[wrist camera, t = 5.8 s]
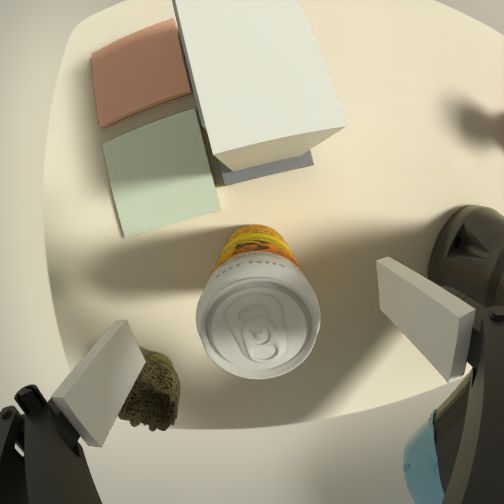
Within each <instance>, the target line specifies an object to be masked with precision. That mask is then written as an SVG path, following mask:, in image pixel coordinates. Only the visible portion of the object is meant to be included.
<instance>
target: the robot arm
mask: <svg viewBox="0 0 504 504" xmlns="http://www.w3.org/2000/svg"><path fill="white" fill-rule="evenodd" d="M376 269H377V279H378V290H379V302H380V310H381V311H382V312H383V313H384V314H385V315H386V316H387V317H388V318H389V319H390V320H391V321H392V322H393V323H394V324H395V325H396V326H397V327H398V328H399V329H400V330H401V331H402V333H403V334H404V335H405V336H406V337H407V338H408V339H409V340H410V341H411V342H412V343H413V344H414V345H415V346H416V348H417V349H418V350H419V351H420V352H421V353H422V354H423V355H424V356H425V357H426V358H427V360H428V361H429V362H430V363H431V364H432V365H433V366H434V367H435V369H436V370H437V371H438V372H439V373H440V374H441V375H442V376H443V378H444V379H445V380H446V381H447V382H448V383H450V382H452V381H453V380H455V379H457V378H459V377H460V376H462V375H464V372H465V368H466V364H467V362H468V363H469V364H470V365H471V366H472V367H473V368H472V369H471V371H470V372H469V373H468V374H467V376H466V377H465V378H464V379H463V381H462V382H461V383H460V384H459V385H458V387H457V388H456V389H455V390H454V391H453V392H452V394H451V395H450V396H449V397H448V398H447V399H446V400H445V401H444V402H443V404H442V405H441V406H440V407H439V408H438V409H435V410H434V411H433V412H432V413H431V415H430V417H429V418H428V419H427V421H425V423H424V424H423V425H422V426H421V427H420V428H419V429H418V430H417V431H416V432H415V433H414V434H413V435H412V436H411V437H410V439H409V440H408V442H407V444H406V446H405V449H404V454H403V469H404V473H405V480H406V483H407V487H408V490H409V492H410V494H411V497H412V499H413V500H414V502H415V504H504V216H503V215H501V214H500V213H499V212H497V211H496V210H494V209H492V208H489V207H483V206H477V205H471V206H467V207H464V208H462V209H461V210H459V211H458V212H456V213H455V214H454V215H453V216H452V217H451V218H450V219H449V220H448V222H447V223H446V224H445V226H444V227H443V229H442V231H441V233H440V234H439V237H438V239H437V241H436V243H435V246H434V249H433V252H432V256H431V260H430V266H429V274H428V279H427V278H425V277H423V276H422V275H420V274H418V273H417V272H415V271H413V270H411V269H410V268H408V267H406V266H404V265H403V264H401V263H399V262H397V261H396V260H394V259H392V258H390V257H389V256H388V257H385V258H382V259H378V260H376ZM145 362H146V361H145V359H144V357H143V355H142V353H141V351H140V348H139V346H138V344H137V342H136V340H135V338H134V336H133V333H132V331H131V329H130V327H129V324H128V322H127V320H121V321H115V322H114V323H113V325H112V326H111V327H110V328H109V329H108V330H107V331H106V332H105V333H104V335H103V336H102V337H101V338H100V339H99V340H98V341H97V342H96V344H95V345H94V346H93V347H92V348H91V349H90V350H89V352H88V353H87V354H86V355H85V356H84V357H83V359H82V360H81V361H80V362H79V363H78V364H77V366H76V367H75V368H74V369H73V370H72V372H71V373H70V374H69V375H68V376H67V378H66V379H65V380H64V381H63V382H62V384H61V385H60V386H59V387H58V389H57V390H56V391H55V392H54V394H53V395H52V396H51V399H50V400H49V401H48V402H47V401H46V400H45V398H44V397H43V395H42V394H41V392H40V391H39V389H38V388H37V386H36V385H28V386H25V387H23V388H22V389H21V390H19V391H18V392H17V393H16V395H15V397H14V399H15V400H16V402H17V403H18V405H19V406H20V407H21V409H22V410H23V411H24V413H25V414H22V415H21V414H20V413H19V411H18V410H17V409H16V407H14V406H9V407H5V408H3V409H2V411H1V412H0V504H102V502H101V500H100V497H99V495H98V492H97V490H96V487H95V484H94V482H93V479H92V476H91V474H90V471H89V468H88V465H87V462H86V458H85V455H84V452H83V448H82V446H81V445H80V444H79V442H78V439H79V438H80V436H81V438H82V439H83V440H84V441H85V442H86V443H87V445H88V446H94V447H102V446H103V444H104V441H105V439H106V437H107V435H108V433H109V431H110V429H111V427H112V425H113V423H114V421H115V419H116V417H117V415H118V414H119V412H120V410H121V408H122V406H123V404H124V402H125V400H126V398H127V396H128V394H129V392H130V390H131V388H132V387H133V385H134V383H135V381H136V379H137V377H138V375H139V373H140V372H141V370H142V368H143V366H144V364H145ZM15 443H16V444H17V446H18V447H19V448H20V449H21V450H22V451H23V452H24V456H21V455H20V454H19V453H18V452H17V450H16V449H15Z"/></svg>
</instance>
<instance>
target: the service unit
mask: <svg viewBox="0 0 504 504" xmlns="http://www.w3.org/2000/svg"><path fill="white" fill-rule="evenodd" d="M172 2H173V7H174V11H175V16H176V20H177V24H178V29H179V33H180V38H181V42H182V46H183V50H184V55H185V59H186V63H187V67H188V72H189V76H190V80H191V84H192V88H193V92H194V96H195V100H196V104H197V108H198V113H199V117H200V121H201V125H202V126H203V127H204V128H205V130H206V131H207V133H208V137H209V141H210V145H211V149H212V153H213V155H214V156H215V157H216V158H218V161H219V165H220V168H221V172H222V176H223V180H224V184H225V186H228V185H232V184H236V183H240V182H243V181H247V180H251V179H255V178H259V177H263V176H268V175H272V174H276V173H280V172H285V171H289V170H294V169H298V168H303V167H308V166H312V165H314V163H313V159H312V155H311V152H310V149H312V148H313V147H315V146H316V145H318V144H319V143H321V142H322V141H324V140H325V139H327V138H329V137H330V136H332V135H333V134H335V133H336V132H338V131H340V130H341V129H343V128H344V127H346V123H345V120H344V116H343V113H342V110H341V107H340V103H339V100H338V97H337V94H336V91H335V88H334V85H333V82H332V80H331V77H330V74H329V71H328V68H327V66H326V63H325V61H324V58H323V55H322V53H321V50H320V48H319V45H318V43H317V41H316V38H315V36H314V33H313V31H312V29H311V27H310V24H309V22H308V20H307V18H306V16H305V14H304V11H303V9H302V7H301V5H300V3H299V1H298V0H172Z"/></svg>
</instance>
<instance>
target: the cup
mask: <svg viewBox="0 0 504 504" xmlns="http://www.w3.org/2000/svg"><path fill="white" fill-rule="evenodd" d="M143 357H144V359H145V361H146V362H145V364H144V366H143V368H142V370H141V372H140V373H139V375H138V377H137V379H136V381H135V383H134V385H133V387H132V388H131V390H130V392H129V394H128V396H127V398H126V400H125V402H124V404H123V406H122V408H121V410H120V412H119V414H118V416H119V418H120V419H122V420H129V421H130V424H131V425H132V426H133V427H136V426H138V425H139V424H140V422H141V423H143V424H144V425H146V424H147V425H149V430H151V431H155V430H156V429H157V428H158V429H159V430H162V431H165V430H166V429H167V428H168V427H169V426H170V424H171V425H174V423H175V418H177V410H178V403H179V396H180V382H179V378H178V375H177V373H176V372H175V370H174V368H173V364H172V362H171V361H170V359H169V358H167V357H166V356H164V355H162V354H158V353H155V354H151V355H149V356H143ZM138 423H139V424H138Z"/></svg>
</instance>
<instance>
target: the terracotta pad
mask: <svg viewBox="0 0 504 504" xmlns="http://www.w3.org/2000/svg"><path fill="white" fill-rule="evenodd" d="M92 68H93V80H94V90H95V99H96V107H97V114H98V121H99V127H102V128H104V127H106V126H108V125H110V124H112V123H114V122H117V121H119V120H121V119H123V118H125V117H128V116H130V115H132V114H135V113H137V112H140V111H142V110H145V109H147V108H150V107H152V106H155V105H158V104H160V103H163V102H166V101H168V100H171V99H174V98H177V97H180V96H183V95H186V94H189V93H192V91H191V87H190V83H189V79H188V74H187V70H186V66H185V62H184V57H183V53H182V49H181V44H180V40H179V36H178V31H177V27H176V22H175V20H174V18H172V19H169V20H166V21H163V22H161V23H158V24H155V25H153V26H150V27H147V28H145V29H142V30H140V31H138V32H135V33H133V34H131V35H128V36H126V37H124V38H122V39H120V40H118V41H115V42H113V43H111V44H109V45H107V46H105V47H103V48H102V49H100V50H98V51H96V52H94V53H92Z"/></svg>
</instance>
